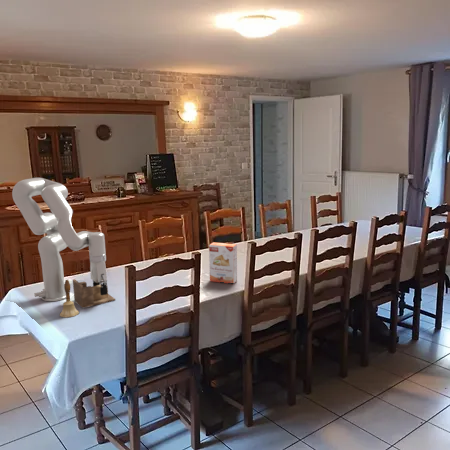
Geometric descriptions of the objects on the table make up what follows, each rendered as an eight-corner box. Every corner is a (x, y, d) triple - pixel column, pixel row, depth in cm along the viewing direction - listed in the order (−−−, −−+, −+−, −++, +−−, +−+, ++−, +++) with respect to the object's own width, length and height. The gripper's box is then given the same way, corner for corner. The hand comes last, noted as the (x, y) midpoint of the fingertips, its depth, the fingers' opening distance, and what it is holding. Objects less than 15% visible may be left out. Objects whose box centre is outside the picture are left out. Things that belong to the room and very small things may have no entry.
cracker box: (209, 281, 246) (208, 244, 241) (213, 278, 251) (213, 241, 247) (233, 284, 240) (233, 246, 236) (237, 281, 246) (237, 243, 242)
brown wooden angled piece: (82, 308, 211) (80, 286, 209) (74, 300, 220) (72, 279, 218) (115, 300, 220) (113, 279, 218) (106, 293, 230) (104, 273, 227)
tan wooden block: (83, 302, 215) (82, 289, 214) (81, 300, 218) (80, 287, 217) (108, 297, 222) (107, 284, 221) (105, 295, 225) (104, 282, 224)
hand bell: (62, 311, 208) (59, 277, 205) (80, 310, 209) (78, 277, 205) (57, 318, 200) (54, 283, 197) (76, 317, 201) (73, 282, 197)
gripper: (84, 255, 223) (86, 288, 226) (96, 263, 209) (99, 298, 212) (98, 253, 227) (101, 285, 230) (112, 260, 213) (114, 295, 216)
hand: (100, 291), depth 221 cm, fingers open, 9 cm apart
